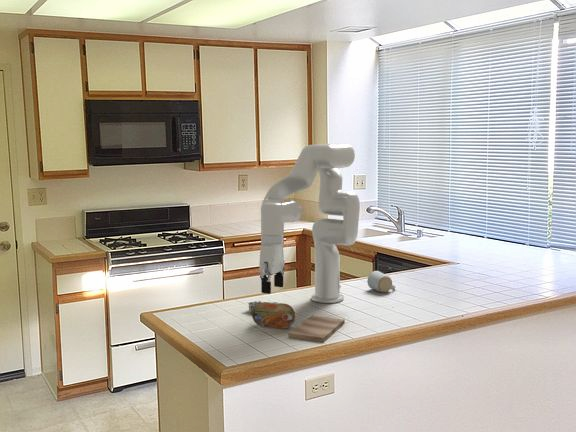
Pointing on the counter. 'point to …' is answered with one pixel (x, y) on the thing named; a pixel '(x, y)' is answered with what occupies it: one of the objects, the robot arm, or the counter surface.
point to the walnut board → (317, 328)
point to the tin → (273, 315)
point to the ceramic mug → (380, 282)
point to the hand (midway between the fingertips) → (272, 289)
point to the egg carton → (253, 304)
